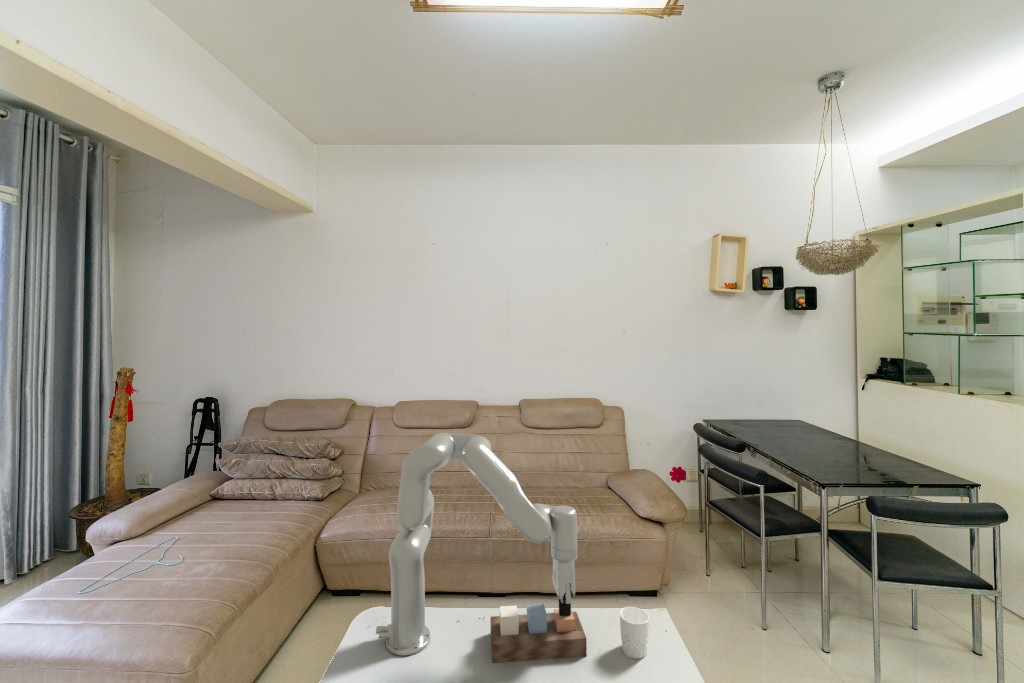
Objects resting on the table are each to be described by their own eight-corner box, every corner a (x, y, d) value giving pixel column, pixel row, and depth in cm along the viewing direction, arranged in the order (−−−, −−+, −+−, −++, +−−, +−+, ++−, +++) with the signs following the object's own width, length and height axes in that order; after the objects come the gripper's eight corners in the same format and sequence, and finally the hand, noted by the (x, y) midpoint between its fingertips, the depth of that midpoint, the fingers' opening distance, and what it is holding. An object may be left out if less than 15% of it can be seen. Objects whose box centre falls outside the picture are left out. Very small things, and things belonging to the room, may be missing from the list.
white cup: (650, 645, 125) (650, 610, 125) (646, 664, 118) (646, 627, 118) (622, 637, 128) (622, 603, 128) (617, 655, 121) (617, 619, 121)
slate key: (529, 636, 123) (529, 615, 123) (527, 625, 128) (526, 604, 128) (546, 635, 123) (546, 614, 123) (543, 624, 128) (543, 603, 128)
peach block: (557, 641, 124) (557, 620, 124) (554, 629, 129) (553, 609, 129) (574, 640, 124) (574, 619, 124) (570, 628, 129) (570, 608, 129)
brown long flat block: (492, 662, 118) (492, 644, 118) (490, 633, 130) (490, 616, 130) (586, 656, 121) (586, 638, 121) (576, 627, 133) (576, 611, 133)
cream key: (500, 638, 122) (500, 617, 122) (499, 627, 127) (499, 606, 127) (518, 637, 123) (518, 616, 123) (516, 626, 128) (516, 605, 128)
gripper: (546, 539, 133) (547, 599, 133) (556, 564, 119) (557, 632, 119) (571, 538, 134) (571, 598, 134) (583, 563, 119) (584, 630, 119)
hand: (564, 614), depth 126 cm, fingers closed
